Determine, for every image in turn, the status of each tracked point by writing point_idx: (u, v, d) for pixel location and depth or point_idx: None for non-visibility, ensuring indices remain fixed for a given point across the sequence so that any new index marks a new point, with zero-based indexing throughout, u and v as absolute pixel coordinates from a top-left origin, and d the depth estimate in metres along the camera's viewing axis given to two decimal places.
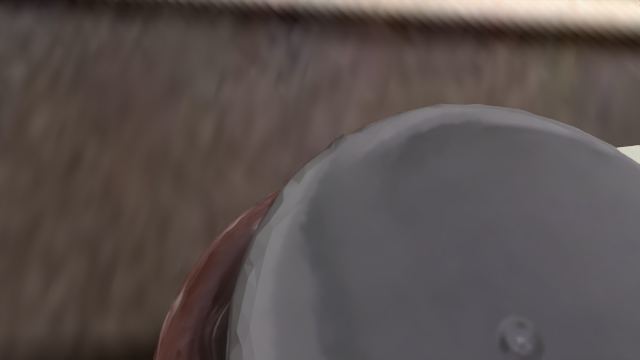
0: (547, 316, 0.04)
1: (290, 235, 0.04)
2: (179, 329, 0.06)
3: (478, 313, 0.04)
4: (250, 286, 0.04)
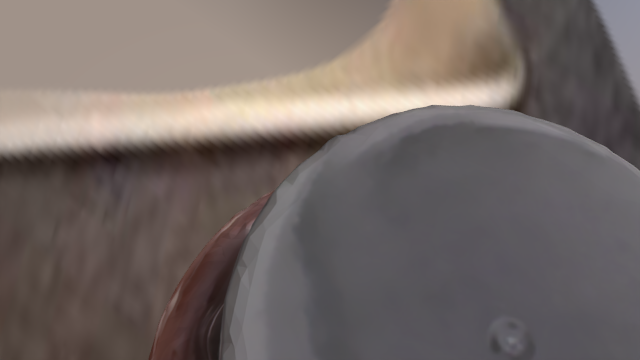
0: (540, 317, 0.04)
1: (283, 236, 0.04)
2: (174, 329, 0.06)
3: (468, 314, 0.04)
4: (243, 287, 0.04)
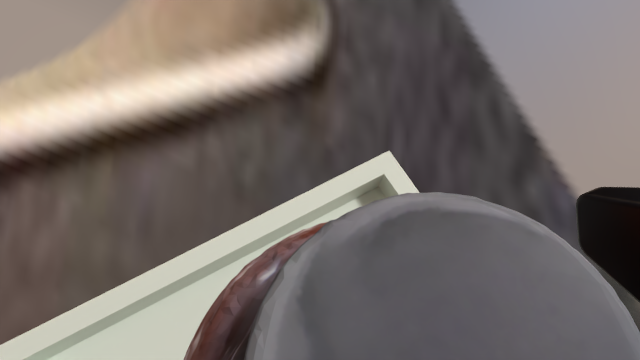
0: None
1: (289, 306, 0.06)
2: None
3: None
4: (259, 347, 0.05)
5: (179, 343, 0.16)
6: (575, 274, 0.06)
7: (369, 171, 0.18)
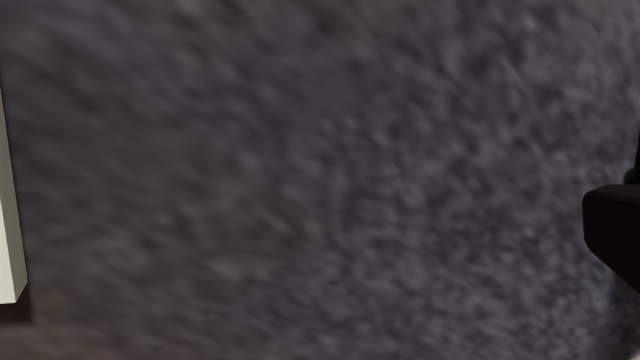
0: None
1: None
2: None
3: None
4: None
5: None
6: None
7: None
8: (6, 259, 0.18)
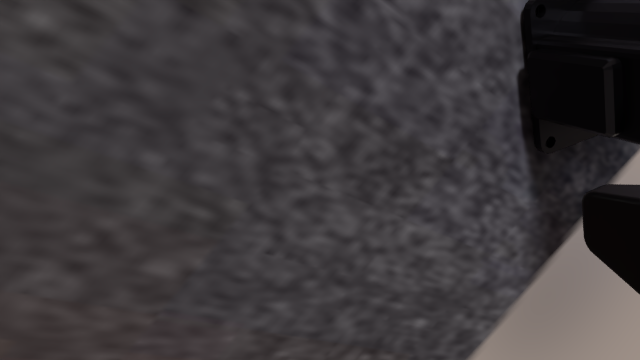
0: None
1: None
2: None
3: None
4: None
5: None
6: None
7: None
8: None
